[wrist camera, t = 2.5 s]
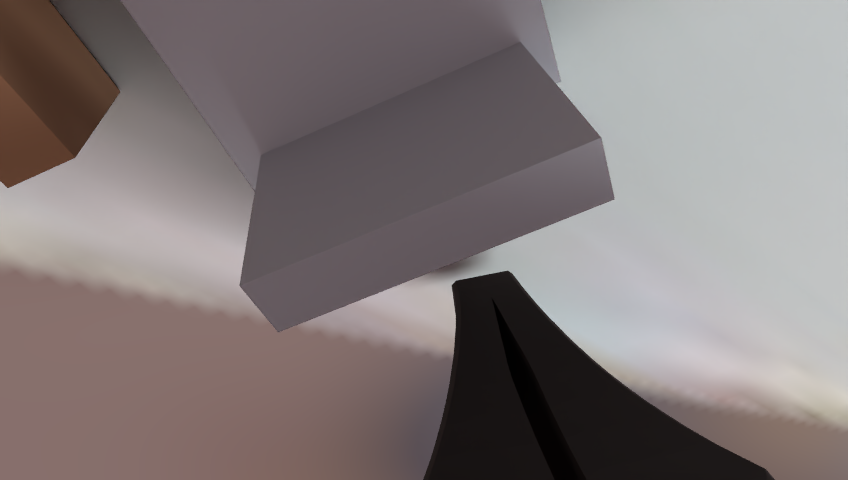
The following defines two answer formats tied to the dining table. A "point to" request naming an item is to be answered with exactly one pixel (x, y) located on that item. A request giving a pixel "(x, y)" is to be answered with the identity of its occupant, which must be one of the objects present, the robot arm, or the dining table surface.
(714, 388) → the dining table surface
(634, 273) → the dining table surface
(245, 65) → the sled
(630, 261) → the dining table surface
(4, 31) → the brown wooden frame
